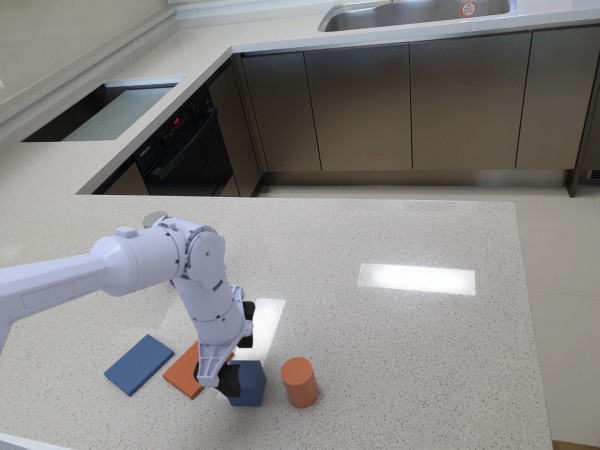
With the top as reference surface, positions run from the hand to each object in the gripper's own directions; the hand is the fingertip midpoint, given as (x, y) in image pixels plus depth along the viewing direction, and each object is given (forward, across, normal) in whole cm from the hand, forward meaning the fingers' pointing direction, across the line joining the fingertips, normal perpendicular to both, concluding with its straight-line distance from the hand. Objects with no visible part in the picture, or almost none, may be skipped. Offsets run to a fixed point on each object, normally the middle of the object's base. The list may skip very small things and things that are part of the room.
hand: (239, 369), depth 64 cm
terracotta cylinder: (+6, 0, -8) cm, 10 cm away
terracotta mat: (+6, +4, +9) cm, 11 cm away
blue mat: (+5, +4, +20) cm, 21 cm away
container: (+6, +24, +19) cm, 31 cm away
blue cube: (+6, 0, 0) cm, 6 cm away
